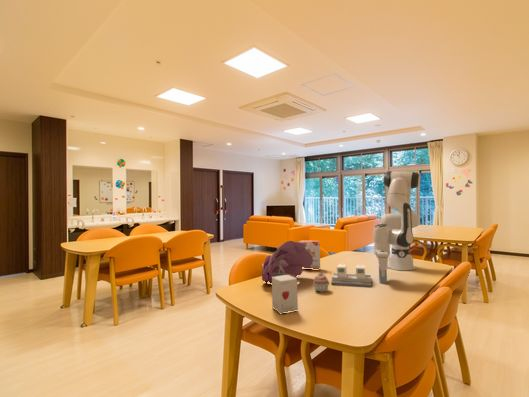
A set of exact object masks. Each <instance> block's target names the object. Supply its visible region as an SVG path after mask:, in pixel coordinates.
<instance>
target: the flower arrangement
mask: <svg viewBox="0 0 529 397" xmlns="http://www.w3.org/2000/svg"><path fill="white" fill-rule="evenodd" d="M312 263H313V258H312V255H311V254H310V252H308V251H307V250H306V248H305V246H304V245H303V244H302V243H300V242H299V241H293V240H288V241H285V242H284V243H282V244H281V245H278V247H276V251H274V252H273V253H272V254H271V255H270V254H269V255H268V256H266V258H265V259H264V262H263V263H262V264H261V269H262V272H261V273H262V274H261V281H262V280H263V281H265V282H266V283H267V282H268V281H269V282H270V283H272V277H275V276H282V275H290V276H292V277H294V278H296V279H298V277H296V276H297V275H300V276H301V275H302V274H303V272H304V270H302V267H304V268H306V267H310V266H311V265H312ZM263 281H262V282H263Z"/></svg>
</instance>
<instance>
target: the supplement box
mask: <svg viewBox="0 0 529 397" xmlns="http://www.w3.org/2000/svg"><path fill="white" fill-rule="evenodd" d="M296 278H297V277H296ZM296 278H294V277H292V276H290V275H282V276H275V277H272V286H271V292H272V293H271V295H272V296H271V298H272V300H271V302H272V305H271V306H272V308H273V307H274V308H275V309H277V310H278V311H279V312H280V313H283V312H288V311H294V310H298V311H299V308H298V306H299V304H298V301H299V300H298V286H297V281H298V280H297V279H298V278H297V279H296Z"/></svg>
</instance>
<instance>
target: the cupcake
mask: <svg viewBox="0 0 529 397" xmlns="http://www.w3.org/2000/svg"><path fill="white" fill-rule="evenodd" d="M328 279H329V278H328V277H327V276H326V275H325V274H324V273H323V272H319V273H318V274H317V275H316V276H314V281H312V284H313V286H314V289H315V292H317V291H320V292H319V293H326V292H325V291H327V292H328V288H329V285H330V284H331V282H330V280H328Z"/></svg>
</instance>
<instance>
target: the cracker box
mask: <svg viewBox="0 0 529 397" xmlns="http://www.w3.org/2000/svg"><path fill="white" fill-rule="evenodd" d="M298 242H300V243H302V244H303V245H304V246H305V248H306V250H307V251H308V252H310V254H311V255H312V258H313V263H312V265H311V266H310V267H306V268H313V269H319V268H320V269H321V253H320V252H321V251H320V240H303V239H302V240H299V241H298Z"/></svg>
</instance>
